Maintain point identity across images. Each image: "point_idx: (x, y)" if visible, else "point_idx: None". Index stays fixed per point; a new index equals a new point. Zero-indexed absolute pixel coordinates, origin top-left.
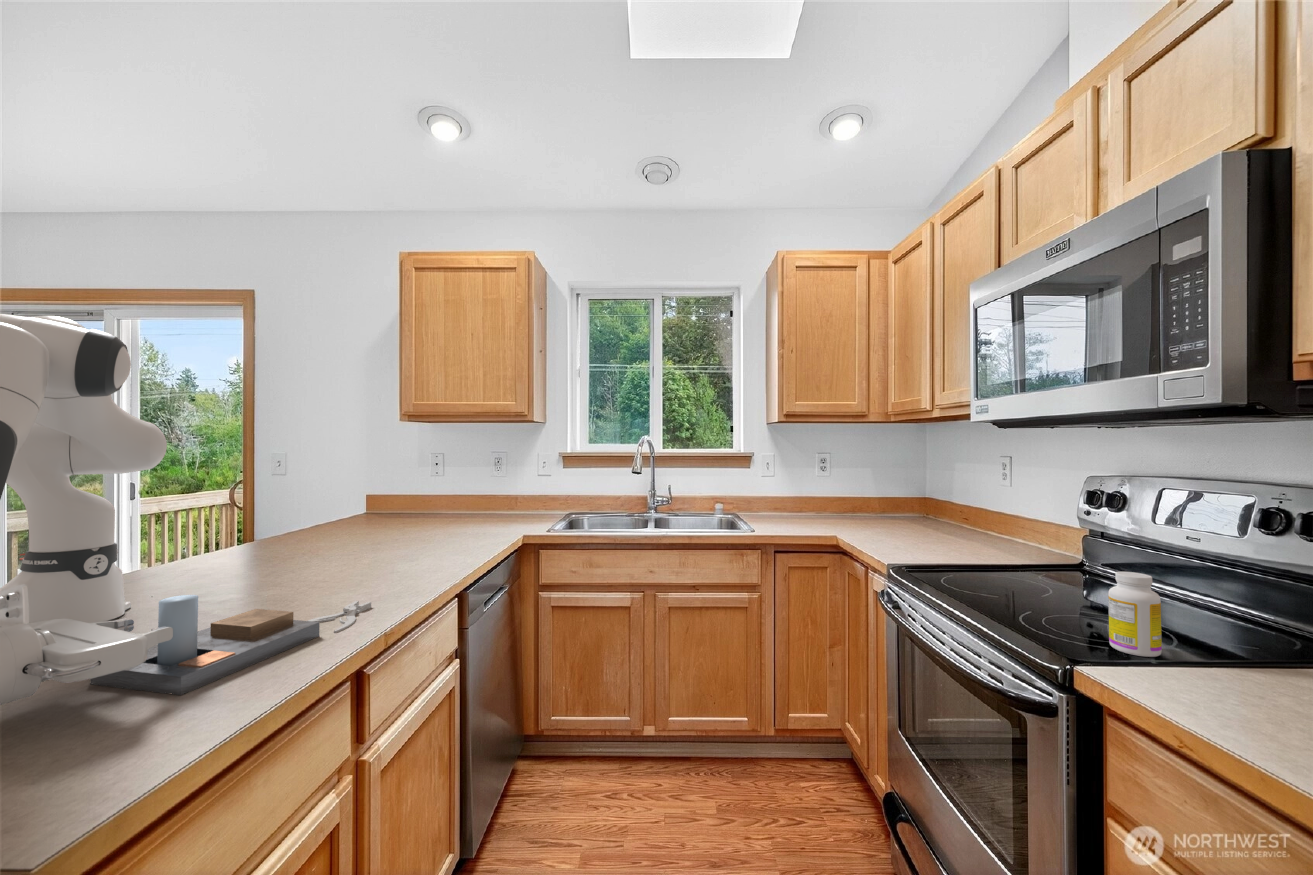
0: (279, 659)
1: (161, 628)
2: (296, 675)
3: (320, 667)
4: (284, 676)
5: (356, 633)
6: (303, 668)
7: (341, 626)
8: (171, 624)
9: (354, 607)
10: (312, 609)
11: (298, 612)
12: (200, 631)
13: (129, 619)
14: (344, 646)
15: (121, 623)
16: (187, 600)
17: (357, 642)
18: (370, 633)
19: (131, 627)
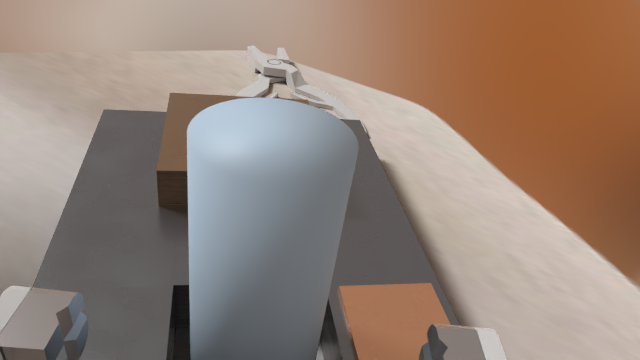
0: (431, 249)
1: (484, 357)
2: (602, 306)
3: (584, 262)
4: (585, 317)
5: (412, 135)
6: (558, 274)
7: (348, 118)
8: (317, 271)
9: (285, 64)
10: (160, 68)
11: (143, 78)
12: (83, 191)
13: (68, 299)
14: (476, 179)
15: (55, 344)
16: (352, 143)
17: (474, 163)
18: (439, 133)
19: (81, 328)
